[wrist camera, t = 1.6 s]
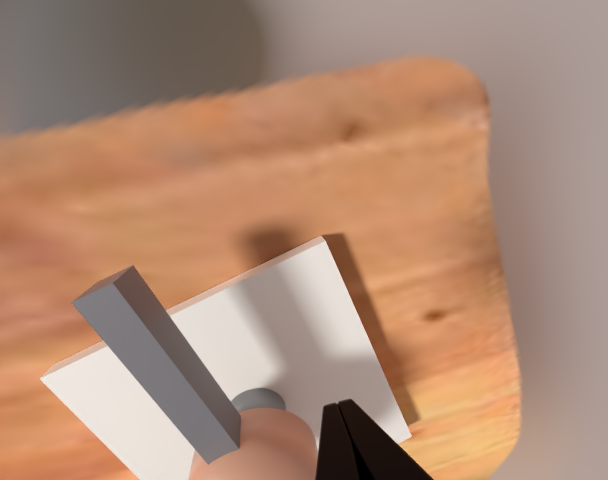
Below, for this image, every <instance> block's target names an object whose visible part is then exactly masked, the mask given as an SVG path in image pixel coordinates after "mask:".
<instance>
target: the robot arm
mask: <svg viewBox="0 0 608 480" xmlns="http://www.w3.org/2000/svg"><path fill="white" fill-rule="evenodd" d="M315 480H434V479H433V478H432V477H431V476H430V475H429V474H428V473H426V472H425V471H424V470H423V469H422V468H421V467H420V466H419V465H418V464H417V463H416V462H415V461H414V460H413V459H412V458H411V457H410V456H409V455H408V454H407V453H406V452H405V451H404V450H403V449H402V448H401V447H400V446H399V445H398V444H397V443H396V442H395V441H394V440H393V439H392V438H391V437H390V436H389V435H388V434H387V433H386V432H385V431H384V430H383V429H382V428H381V427H380V426H379V425H378V424H377V423H376V422H375V421H374V420H373V419H372V418H371V417H370V416H369V415H368V414H367V413H366V412H365V411H364V410H363V409H362V408H361V407H360V406H359V405H358V404H356V403H355V402H354V401H353V400H352V399H350V398H349V399H345V400H341V401H339V402H338V404H337V403H336V402H334V403H330V404H327V405H324V406H323V410H322V420H321V429H320V439H319V448H318V458H317V467H316V477H315Z"/></svg>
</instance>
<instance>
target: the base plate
mask: <svg viewBox="0 0 608 480" xmlns="http://www.w3.org/2000/svg"><path fill="white" fill-rule="evenodd" d="M166 312H167V313H168V315H169V316H170V317H171V319H172V320H173V322H174V323H175V324H176V326H177V327H178V329H179V330H180V331H181V333H182V334H183V336H184V337H185V338H186V340H187V341H188V343H189V344H190V345H191V347H192V348H193V350H194V351H195V352H196V354H197V355H198V357H199V358H200V359H201V361H202V362H203V364H204V365H205V366H206V368H207V369H208V371H209V372H210V373H211V375H212V376H213V378H214V379H215V380H216V382H217V383H218V385H219V386H220V387H221V389H222V390H223V391H224V393H225V394H226V396H227V397H228V398H229V400H230V401H231V403H232V404H233V405H234V407H235V408H236V410H237V411H238V412H241V411H244V410H249V409H255V408H275V409H281V410H285V411H288V412H291V413H293V414H295V415H297V416H298V417H300V418H301V419H303V420H304V421H305V422H306V423H307V424H308V425H309V427H310V428H311V430H312V432H313V434H314V436H315V440H316V444H317V449H318V448H319V439H320V429H321V420H322V410H323V406H324V405H327V404H330V403H334V402H336V403H337V404H338V402H339V401H341V400H345V399H349V398H350V399H352V400H353V401H354V402H355V403H356V404H358V405H359V406H360V407H361V408H362V409H363V410H364V411H365V412H366V413H367V414H368V415H369V416H370V417H371V418H372V419H373V420H374V421H375V422H376V423H377V424H378V425H379V426H380V427H381V428H382V429H383V430H384V431H385V432H386V433H387V434H388V435H389V436H390V437H391V438H392V439H393V440H394V441H395V442H396V443H397V444H399V443H400V442H402V441H404V440H406V439H408V438H410V437H412V436H411V434H410V431H409V429H408V427H407V424H406V422H405V420H404V418H403V415H402V413H401V411H400V409H399V406H398V404H397V402H396V400H395V397H394V395H393V393H392V390H391V388H390V386H389V384H388V381H387V379H386V377H385V375H384V372H383V370H382V368H381V365H380V363H379V361H378V359H377V356H376V354H375V352H374V350H373V347H372V345H371V343H370V341H369V338H368V336H367V334H366V331H365V329H364V327H363V325H362V322H361V320H360V318H359V316H358V313H357V311H356V309H355V306H354V304H353V302H352V300H351V297H350V295H349V293H348V291H347V288H346V286H345V284H344V282H343V279H342V277H341V275H340V272H339V270H338V268H337V266H336V263H335V261H334V259H333V257H332V254H331V252H330V250H329V248H328V245H327V243H326V241H325V240H324V238H323V237H322V236H319V237H317V238H315V239H313V240H310V241H308V242H306V243H304V244H302V245H300V246H298V247H296V248H294V249H292V250H290V251H288V252H286V253H284V254H281V255H279V256H277V257H275V258H273V259H271V260H269V261H267V262H265V263H263V264H261V265H259V266H257V267H254V268H252V269H250V270H248V271H246V272H244V273H242V274H240V275H238V276H236V277H234V278H232V279H230V280H228V281H225V282H223V283H221V284H219V285H217V286H215V287H213V288H211V289H209V290H207V291H205V292H203V293H201V294H198V295H196V296H194V297H192V298H190V299H188V300H186V301H184V302H182V303H180V304H178V305H176V306H174V307H172V308H169V309H167V310H166ZM40 380H41V381H42V382H43V383H44V384H45V385H46V386H47V387H48V388H49V389H50V390H51V391H52V392H53V393H54V394H55V395H56V396H57V397H58V398H59V399H60V400H61V401H62V402H63V403H64V404H65V405H66V406H67V407H68V408H69V409H70V410H71V411H72V412H73V413H74V414H75V415H76V416H77V417H78V418H79V419H80V420H81V421H82V422H83V423H84V424H85V425H86V426H87V427H88V428H89V429H90V430H91V431H92V432H93V433H94V434H95V435H96V436H97V437H98V438H99V439H100V440H101V441H102V442H103V443H104V444H105V445H106V446H107V447H108V448H109V449H110V450H111V451H112V452H113V453H114V454H115V455H116V456H117V457H118V458H119V459H120V460H121V461H122V462H123V463H124V464H125V465H126V466H127V467H128V468H129V469H130V470H131V471H132V472H133V473H134V474H135V475H136V476H137V477H138V478H139V479H140V480H188V479H189V474H190V469H191V464H192V459H193V455H194V451H195V449H194V448H193V446H192V445H191V444H190V443H189V442H188V440H187V439H186V438H185V437H184V436H183V435H182V433H181V432H180V431H179V430H178V429H177V427H176V426H175V425H174V424H173V423H172V421H171V420H170V419H169V418H168V417H167V416H166V414H165V413H164V412H163V411H162V410H161V408H160V407H159V406H158V405H157V404H156V402H155V401H154V400H153V399H152V398H151V397H150V395H149V394H148V393H147V392H146V391H145V389H144V388H143V387H142V386H141V385H140V383H139V382H138V381H137V380H136V379H135V378H134V376H133V375H132V374H131V373H130V372H129V370H128V369H127V368H126V367H125V366H124V364H123V363H122V362H121V361H120V360H119V359H118V357H117V356H116V355H115V354H114V353H113V351H112V350H111V349H110V348H109V347H108V345H107V344H106V343H105V342H104V341H101V342H99V343H97V344H95V345H93V346H91V347H89V348H87V349H84V350H82V351H80V352H78V353H76V354H74V355H72V356H70V357H68V358H66V359H64V360H62V361H60V362H57V363H55V364H54V365H53V366H52V367H51V368H50V369H49V370H48V371H47V372H46V373H45V374H44V375H43V376H42V377H41V378H40Z"/></svg>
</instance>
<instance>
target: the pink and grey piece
mask: <svg viewBox="0 0 608 480" xmlns="http://www.w3.org/2000/svg"><path fill="white" fill-rule="evenodd" d="M72 304H73V305H74V306H75V307H76V309H77V310H78V311H79V312H80V313H81V315H82V316H83V317H84V318H85V319H86V320H87V322H88V323H89V324H90V325H91V326H92V328H93V329H94V330H95V331H96V332H97V334H98V335H99V336H100V337H101V338H102V340H103V341H104V342H105V343H106V344H107V345H108V347H109V348H110V349H111V350H112V351H113V353H114V354H115V355H116V356H117V357H118V359H119V360H120V361H121V362H122V363H123V364H124V366H125V367H126V368H127V369H128V370H129V372H130V373H131V374H132V375H133V376H134V378H135V379H136V380H137V381H138V382H139V383H140V385H141V386H142V387H143V388H144V389H145V391H146V392H147V393H148V394H149V395H150V397H151V398H152V399H153V400H154V401H155V402H156V404H157V405H158V406H159V407H160V408H161V410H162V411H163V412H164V413H165V414H166V416H167V417H168V418H169V419H170V420H171V421H172V423H173V424H174V425H175V426H176V427H177V429H178V430H179V431H180V432H181V433H182V435H183V436H184V437H185V438H186V439H187V440H188V442H189V443H190V444H191V445H192V446H193V448H194V449H195V451H194V455H193V459H192V464H191V469H190V474H189V479H188V480H315V477H316V467H317V458H318V449H317V444H316V440H315V436H314V434H313V432H312V430H311V428H310V427H309V425H308V424H307V423H306V422H305V421H304V420H303V419H301V418H300V417H298V416H297V415H295V414H293V413H291V412H288V411H285V410H281V409H275V408H255V409H249V410H244V411H241V412H238V411H237V410H236V408H235V407H234V405H233V404H232V403H231V401H230V400H229V398H228V397H227V396H226V394H225V393H224V391H223V390H222V389H221V387H220V386H219V385H218V383H217V382H216V380H215V379H214V378H213V376H212V375H211V373H210V372H209V371H208V369H207V368H206V366H205V365H204V364H203V362H202V361H201V359H200V358H199V357H198V355H197V354H196V352H195V351H194V350H193V348H192V347H191V345H190V344H189V343H188V341H187V340H186V338H185V337H184V336H183V334H182V333H181V331H180V330H179V329H178V327H177V326H176V324H175V323H174V322H173V320H172V319H171V317H170V316H169V315H168V313H167V312H166V310H165V309H164V308H163V306H162V305H161V303H160V302H159V301H158V299H157V298H156V296H155V295H154V294H153V292H152V291H151V289H150V288H149V287H148V285H147V284H146V283H145V281H144V280H143V278H142V277H141V276H140V274H139V273H138V271H137V270H136V269H135V267H134V266H130V267H128V268H126V269H124V270H122V271H120V272H118V273H116V274H114V275H112V276H109V277H107V278H105V279H103V280H101V281H99V282H97V283H96V284H95V285H93V286H92V287H91V288H90V289H88V290H87V291H86V292H84V293H83V294H82V295H81V296H79V297H78V298H77V299H76V300H74V301H73V302H72Z"/></svg>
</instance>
